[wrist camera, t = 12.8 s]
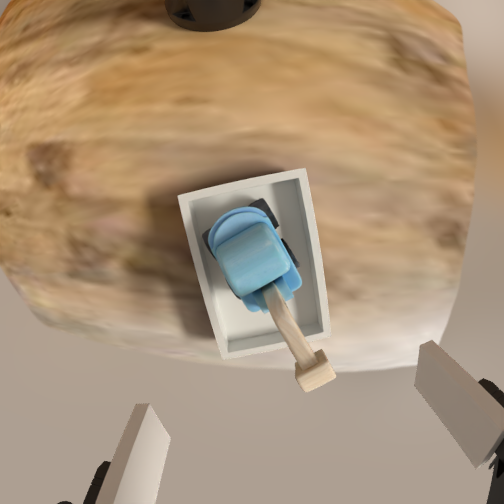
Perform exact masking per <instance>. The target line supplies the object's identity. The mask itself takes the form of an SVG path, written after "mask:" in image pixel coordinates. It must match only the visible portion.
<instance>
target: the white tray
mask: <svg viewBox="0 0 504 504" xmlns="http://www.w3.org/2000/svg"><path fill="white" fill-rule="evenodd" d="M177 196H178V200H179V205H180V209H181V213H182V217H183V222H184V226H185V230H186V234H187V238H188V242H189V246H190V250H191V254H192V258H193V261H194V265H195V269H196V273H197V276H198V280H199V284H200V287H201V291H202V294H203V298H204V301H205V305H206V308H207V311H208V315H209V318H210V321H211V325H212V328H213V331H214V334H215V338H216V341H217V344H218V347H219V350H220V353H221V356H222V359H223V360H224V359H230V358H236V357H242V356H247V355H253V354H258V353H263V352H268V351H273V350H278V349H282V348H287V347H288V345H287V343H286V342H285V340H284V338H283V337H282V335H281V333H280V332H279V330H278V328H277V326H276V325H275V323H274V321H273V319H272V316H271V314H270V312H268V313H266V314H264V313H263V312H262V310H259V311H257V312H251V311H249V310H248V309H247V308H246V306H245V305H244V303H243V301H242V300H240V299H238V298H237V297H236V296H235V295H234V293H233V292H232V291H231V289H230V288H229V286H228V284H227V282H226V279H225V276H224V275H223V272H222V270H221V268H220V266H219V263H218V261H216V259H215V258H214V257H213V256H212V254H211V253H210V252H209V250H208V249H207V247H206V245H205V243H204V241H203V238H202V234H203V233H204V232H205V231H206V230H208V229H210V228H211V227H212V226H213V225H214V223H215V222H216V221H217V220H218V218H219V217H220V216H222V215H223V214H224V213H226V212H227V211H229V210H231V209H234V208H237V207H243V206H248V205H250V204H251V203H253V202H255V201H256V200H259V199H261V198H264V200H265V201H266V202H267V204H268V206H269V207H270V209H271V211H272V212H273V214H274V216H275V218H276V219H277V221H278V224H279V227H277V229H275V230H276V232H277V234H278V235H279V237H280V239H281V238H283V239H284V240H285V241H286V243H287V245H288V246H289V248H290V249H291V251H292V252H293V254H294V256H295V258H296V259H297V261H298V262H299V264H300V267H298V268H297V271H298V273H299V275H300V276H301V279H302V285H301V287H300V288H298V289H297V290H295V291H293V292H292V294H293V295H294V298H292V299H290V300H288V301H285V302H286V304H287V307H288V309H289V311H290V313H291V315H292V316H293V318H294V320H295V322H296V323H297V325H298V327H299V328H300V330H301V332H302V334H303V335H304V337H305V339H306V340H307V342H312V341H316V340H320V339H324V338H327V337H331V327H330V318H329V309H328V301H327V292H326V285H325V277H324V270H323V263H322V256H321V250H320V244H319V237H318V231H317V225H316V220H315V214H314V209H313V203H312V198H311V193H310V188H309V183H308V178H307V173H306V168H302V169H296V170H291V171H285V172H280V173H275V174H269V175H264V176H259V177H254V178H249V179H245V180H240V181H235V182H231V183H226V184H222V185H218V186H213V187H209V188H205V189H201V190H197V191H193V192H189V193H185V194H181V195H177Z"/></svg>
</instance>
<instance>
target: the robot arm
mask: <svg viewBox="0 0 504 504" xmlns="http://www.w3.org/2000/svg"><path fill="white" fill-rule="evenodd" d="M260 4H261V0H165V6H166V9H167V12H168V14H169V16H170V18H171V19H172V20H173V21H174V22H175V23H176V24H177V25H179V26H181V27H183V28H186V29H189V30H194V31H218V30H223V29H228V28H231V27H234V26H237V25H239V24H241V23H243V22H245V21H247V20H248V19H249V18H251V17H252V16H253V15H254V14H255V13H256V12H257V10H258V9H259V7H260ZM414 386H415V387H416V389H417V390H418V391H419V393H420V394H421V395H422V396H423V398H424V399H425V400H426V401H427V403H428V404H429V405H430V407H431V408H432V409H433V410H434V412H435V413H436V415H437V416H438V417H439V419H440V420H441V421H442V423H443V424H444V425H445V427H446V428H447V429H448V431H449V432H450V433H451V435H452V436H453V437H454V439H455V440H456V442H457V443H458V444H459V446H460V447H461V449H462V450H463V451H464V453H465V454H466V456H467V457H468V458H469V460H470V461H471V463H472V464H473V466H474V467H475V468H476V469H478V468H479V467H480V466H482V465H483V464H484V463H486V462H487V461H488V460H489V459H490V458H491V456H492V455H493V454H494V452H495V453H496V455H497V456H496V458H495V459H494V460H493V462H492V463H491V464H490V466H489V469H491V468H492V466H493V465H494V468H493V469H494V471H493V476H492V482H491V487H490V491H489V495H488V500H487V504H504V393H503V392H502V391H501V390H499V388H498V387H497V386H496V385H495V384H494V383H493V382H491V381H488V380H486V379H484V378H483V379H482V380H480V381H479V382H477V381H476V380H475V379H474V378H473V377H471V375H470V374H468V373H467V372H466V371H465V370H464V369H463V368H462V367H461V366H460V365H459V364H458V363H457V362H456V361H455V360H454V359H452V358H451V357H450V356H449V355H448V354H447V353H446V352H445V351H444V350H443V349H442V348H440V347H439V346H438V345H437V344H436V343H435V342H434V341H433V340H431V341H429V342H426V343H424V344H422V345H420V350H419V358H418V365H417V372H416V378H415V384H414ZM170 439H171V438H170V436H169V435H168V433H167V432H166V430H165V429H164V427H163V426H162V424H161V422H160V421H159V419H158V417H157V416H156V414H155V412H154V411H153V409H152V407H151V405H150V404H136V405H135V408H134V410H133V412H132V414H131V417H130V419H129V421H128V423H127V426H126V428H125V430H124V433H123V435H122V437H121V440H120V442H119V445H118V447H117V449H116V452H115V454H114V457H113V459H112V462H108V461H104V462H103V463H102V464H101V465H100V466H99V467H98V469H97V471H96V474H95V476H94V479H93V480H92V483H91V484H92V485H91V486H90V488H89V490H88V492H87V495H86V497H85V500H84V502H83V504H155V502H156V497H157V493H158V489H159V485H160V480H161V476H162V471H163V467H164V463H165V459H166V455H167V451H168V447H169V443H170ZM58 504H72V503H71V502H68V501H62V502H60V503H58Z"/></svg>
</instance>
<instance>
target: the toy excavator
mask: <svg viewBox="0 0 504 504" xmlns="http://www.w3.org/2000/svg"><path fill="white" fill-rule="evenodd" d="M277 227H279V224H278V221H277V219H276V218H275V216H274V214H273V212H272V211H271V209H270V207H269V206H268V204H267V202H266V201H265V200H264V198H261V199H259V200H256V201H255V202H253V203H251V204H250V205H248V206H243V207H237V208H234V209H231V210H229V211H227V212H226V213H224V214H223V215H222V216H220V217H219V218H218V220H217V221H216V222H215V223H214V225H213V226H212V227H211V228H210V229H208V230H206V231H205V232H204V233H203V234H202V238H203V241H204V243H205V245H206V247H207V249H208V250H209V252H210V253H211V254H212V256H213V257H214V258H215V259H216V261H218V263H219V266H220V268H221V270H222V272H223V275H224V276H225V279H226V282H227V284H228V286H229V288H230V289H231V291H232V292H233V293H234V295H235V296H236V297H237V298H238V299H240V300H242V301H243V303H244V305H245V306H246V308H247V309H248V310H249V311H251V312H257V311H259V310H262V312H263V313H264V314H266V313H268V312H270V314H271V316H272V319H273V321H274V323H275V325H276V326H277V328H278V330H279V332H280V333H281V335H282V337H283V338H284V340H285V342H286V343H287V345H288V347H289V349H290V350H291V352H292V354H293V355H294V357H295V359H296V360H297V362H296V363H295V367H296V370H295V378H296V380H297V382H298V384H299V385H300V387H301V388H302V389H303V390H304V391H305V392H309V391H311V390H313V389H315V388H317V387H319V386H321V385H323V384H325V383H327V382H329V381H331V380H333V379H334V378H335V377H336V374H335V372H334V370H333V368H332V366H331V364H330V363H329V361H328V359H327V357H326V355H325V353H324V352H323V350H322V349H321V350H318V351H317V352H315V353H314V352H313V351H312V349H311V347H310V346H309V344H308V342H307V340H306V339H305V337H304V335H303V334H302V332H301V330H300V328H299V327H298V325H297V323H296V322H295V320H294V318H293V316H292V315H291V313H290V311H289V309H288V307H287V304H286V302H285V301H288V300H290V299H292V298H294V295H293V294H292V292H293V291H295V290H297V289H298V288H300V287H301V285H302V279H301V276H300V275H299V273H298V271H297V268H298V267H300V264H299V262H298V261H297V259H296V258H295V256H294V254H293V252H292V251H291V249H290V248H289V246H288V245H287V243H286V241H285V240H284V239H283V238H281V239H280V237H279V235H278V234H277V232H276V230H275V229H277Z"/></svg>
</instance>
